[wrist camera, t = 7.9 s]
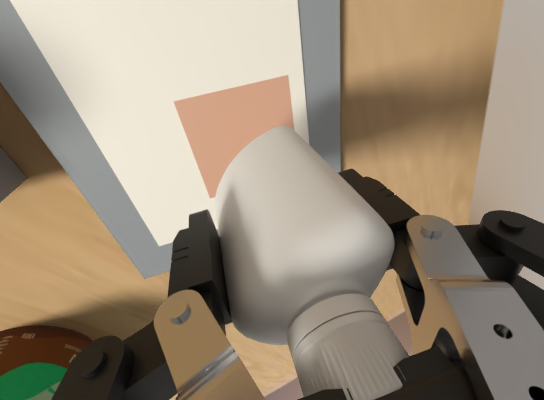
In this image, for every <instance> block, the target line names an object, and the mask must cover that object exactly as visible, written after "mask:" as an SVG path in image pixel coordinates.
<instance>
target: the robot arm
mask: <svg viewBox="0 0 544 400" xmlns="http://www.w3.org/2000/svg"><path fill="white" fill-rule="evenodd" d="M338 174H339V175H340V176H341V177H342V178H343V179H344V180H345V181H346V182H347V183H348V184H349V185H350V186H351V187H352V188H353V189H354V190H355V191H356V192H357V193H358V194H359V195H360V196H361V197H362V198H363V199H364V200H365V201H366V202H367V203H368V204H369V205H370V206H371V207H372V208H373V209H374V210H375V211H376V212H377V213H378V214H379V215H380V216H381V217H382V218H383V220H384V221H385V222H386V223H387V225H388V226H389V227H390V228H391V230H392V233H393V236H394V241H395V247H394V251H393V254H392V258H391V261H390V263H389V266H388V268H387V270H390V269H394V270H395V271H396V273H397V277H396V282H397V285H398V289H399V292H400V295H401V299H402V302H403V305H404V309H405V312H406V315H407V319H408V322H409V325H410V329H411V334H412V349H413V355H412V356H409V357H407V358H404V359H402V360H401V361H400V362H398V363H397V364H396V365H395V366H394V367H393V369H394V371H395V373H396V374H397V376H398V378H399V379H400V381H401V383H402V385H403V386H402V387H401V389H399V390H397V391H394V392H392V393H389V394H387V395H384V396H382V397H379V398H377V399H374V400H544V290H542V289H541V288H539V287H537V286H536V285H534V284H532V283H531V282H529V281H527V280H526V279H524V278H522V277H521V276H519V275H518V274H519V273H520V271H521V270H522V268H523V266H525V267H527V268H529V269H531V270H532V271H534V272H536V273H538V274H540V275H541V276H543V277H544V224H543V223H541V222H538V221H536V220H534V219H531V218H529V217H527V216H524V215H522V214H518V213H515V212H511V211H502V210H498V211H491V212H488V213H486V214H485V215H484V216H483V218H482V220H481V222H480V225H460V226H454V225H453V224H452V223H450V222H449V221H447V220H445V219H443V218H440V217H437V216H432V215H420V214H419V213H417V212H416V211H415V210H414V209H413V208H411V207H410V206H409V205H408V204H406V203H405V202H404V201H403V200H401V199H400V198H399V197H398V196H396V195H394V193H393V192H392V191H390V190H389V189H387V187H385V186H384V185H383V184H382V183H380V182H379V181H377V180H375V179H372V178H370V177H362V176H361V175H360V174H359V173H357V172H356V171H355V170H354V169H349V170H345V171H342V172H338ZM171 261H172V262H171V268H170V279H169V290H168V298H167V299H166V300H165V301H164V302H163V303H162V304H161V305H160V307H159V308H158V310H157V312H156V314H155V317H154V321H152V322H151V323H150V324H149V325H147V326H146V327H144V328H143V329H141V330H140V331H138V332H136V333H135V334H133V335H132V336H130V337H129V338H127V339H125V340H124V341H122V340H121V339H120V338H118V337H116V336H105V337H102V338H99V339H97V340H95V341H93V342H92V343H90V344H89V345H88V346H86V347H85V348H84V349H83V350H82V351H81V352H80V353H79V354H78V355H77V356H76V357H75V358H74V360H73V361H72V362H71V364H70V366H69V367H68V369H67V371H66V373H65V375H64V377H63V378H62V380H61V382H60V384H59V386H58V388H57V390H56V392H55V393H54V395H53V397H52V399H51V400H169V399H170V398H172V397H173V396H174V395H176V394H177V393H178V396H177V397H176V400H265V398H264V397H263V395H262V394H261V392H260V390H259V389H258V387H257V385H256V384H255V382H254V380H253V379H252V377H251V376H250V374H249V372H248V371H247V369H246V367H245V366H244V364H243V362H242V361H241V359H240V358H239V356H238V354H237V353H236V351H235V350H234V349H233V347H232V346H231V344H230V342H229V341H228V339H227V337H226V332H225V325H226V324H228V323H231V322H233V321H232V318H231V314H230V308H229V302H228V296H227V289H226V283H225V276H224V268H223V261H222V253H221V246H220V238H219V235H218V232H217V230H216V227H215V225H214V222H213V220H212V217H211V215H210V212H209V210H208V209H207V210H203V211H200V212H196V213H193V214H189V228H186V229H183V230H179V232H178V233H177V235H176V237H175V239H174V240H173V247H172V258H171ZM387 270H386V271H387ZM397 366H398V367H397ZM399 369H400V370H399ZM400 371H401V372H400ZM402 374H403V375H402ZM403 376H404V377H403ZM405 379H406V380H405ZM346 389H347V391H348V393H349V396H350V398H351V400H353V398H352V396H351V394H350V391H349V389H348V388H346ZM298 400H347V398H346V396H345V393H344V391H343V389H325V390H321V391H319V392H316V393H314V394H311V395H308V396H306V397H303V398H301V399H298Z"/></svg>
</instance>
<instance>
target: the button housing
mask: <svg viewBox="0 0 544 400" xmlns="http://www.w3.org/2000/svg"><path fill="white" fill-rule="evenodd" d="M26 179H27V177H26V176H25V175H24V174H23V173H22V171H21V170H20V169H19V168H18V167H17V166H16V164H15V163H14V162H13V161H12V160H11V159H10V157H9V156H8V155H7V154H6V153H5V151H4V150H3V149H2V148H1V147H0V202H1V201H2V200H3V199H5V198H6V197H7V196H8V195H9V194H10V193H11V192H12V191H14V190H15V189H16V188H17V187H18V186H19V185H20V184H21V183H23V182H24V181H25V180H26Z"/></svg>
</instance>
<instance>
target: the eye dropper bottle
mask: <svg viewBox="0 0 544 400" xmlns="http://www.w3.org/2000/svg"><path fill="white" fill-rule="evenodd" d="M215 206H216V214H217V222H218V230H219V238H220V246H221V253H222V261H223V268H224V276H225V283H226V289H227V296H228V302H229V308H230V314H231V318H232V321H233V324H234V326H235V328H236V329H237V330H238V331H239V332H240V333H242V334H243V335H244V336H246V337H248V338H250V339H253V340H255V341H258V342H261V343H266V344H272V345H289V349H290V352H291V355H292V359H293V362H294V365H295V369H296V372H297V375H298V379H299V382H300V385H301V388H302V391H303V395H304V397H306V396H308V395H311V394H314V393H316V392H319V391H321V390H325V389H343V391H344V393H345V396H346V398H347V400H351V398H350V396H349V393H348V391H347V389H346V388H348V389H349V391H350V394H351V396H352V398H353V400H374V399H377V398H379V397H382V396H384V395H387V394H389V393H392V392H394V391H397V390H399V389H401V387H402V386H403V385H402V383H401V381H400V379H399V378H398V376H397V374H396V373H395V371H394V369H393V367H394V366H395V365H396V364H397V363H398V362H400V361H401V360H402V359H404V358H407V357H409V355H408V353H407V352H406V350H405V349H404V348H403V346H402V345H401V343H400V341H399V340H398V339H397V337H396V336H395V334H394V332H393V331H392V330H391V328H390V326H389V325H388V323H387V322H386V320H385V319H384V317H383V316H382V314H381V313H380V311H379V310H378V308H377V307H376V305H375V304H374V302H373V301H372V299H370V297H371V295H372V294H373V292H374V291H375V289H376V288H377V286H378V284H379V282H380V281H381V279H382V277H383V276H384V274H385V272H386V270H387V268H388V266H389V263H390V261H391V258H392V254H393V251H394V247H395V241H394V236H393V233H392V230H391V228H390V227H389V226H388V225H387V223H386V222H385V221H384V220H383V218H382V217H381V216H380V215H379V214H378V213H377V212H376V211H375V210H374V209H373V208H372V207H371V206H370V205H369V204H368V203H367V202H366V201H365V200H364V199H363V198H362V197H361V196H360V195H359V194H358V193H357V192H356V191H355V190H354V189H353V188H352V187H351V186H350V185H349V184H348V183H347V182H346V181H345V180H344V179H343V178H342V177H341V176H340V175H339V174H338V173H337V172H336V171H335V170H334V169H333V168H332V167H331V166H330V165H329V164H328V163H327V162H326V161H325V160H324V159H323V158H322V157H321V156H320V155H319V154H318V153H317V152H316V151H315V150H314V149H313V148H312V147H311V146H310V145H309V144H308V143H307V142H306V141H305V140H304V139H303V138H302V137H301V136H300V135H299V134H298V133H296V132H295V131H294V130H293V129H292V128H290V127H288V126H277V127H275V128H273V129H270V130H269V131H267V132H265V133H263V134H262V135H260V136H258V137H257V138H256V139H254V140H253V141H252V142H250V143H249V144H248V145H247V146H245V147H244V148H243V149H242V150H241V151H240V152H239V153H238V154H237V155H236V157H235V158H234V159H233V160H232V162H231V163H230V164H229V166H228V167H227V169H226V171H225V173H224V174H223V176H222V178H221V181H220V183H219V186H218V188H217V191H216V196H215ZM397 367H398V366H397ZM399 370H400V369H399ZM400 372H401V371H400ZM402 375H403V374H402ZM403 377H404V376H403ZM405 380H406V379H405Z"/></svg>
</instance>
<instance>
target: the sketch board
mask: <svg viewBox="0 0 544 400" xmlns="http://www.w3.org/2000/svg"><path fill="white" fill-rule="evenodd" d="M0 83H1V84H2V85H3V87H4V88H5V90H6V91H7V92H8V94H9V95H10V96H11V98H12V99H13V100H14V102H15V103H16V105H17V106H18V107H19V109H20V110H21V111H22V113H23V114H24V115H25V117H26V118H27V120H28V121H29V122H30V124H31V125H32V126H33V128H34V129H35V130H36V132H37V133H38V135H39V136H40V137H41V139H42V140H43V141H44V143H45V144H46V145H47V147H48V148H49V150H50V151H51V152H52V154H53V155H54V156H55V158H56V159H57V160H58V162H59V163H60V164H61V166H62V167H63V169H64V170H65V171H66V173H67V174H68V175H69V177H70V178H71V179H72V181H73V182H74V184H75V185H76V186H77V188H78V189H79V190H80V192H81V193H82V194H83V196H84V197H85V199H86V200H87V201H88V203H89V204H90V205H91V207H92V208H93V209H94V211H95V212H96V214H97V215H98V216H99V218H100V219H101V220H102V222H103V223H104V224H105V226H106V227H107V229H108V230H109V231H110V233H111V234H112V235H113V237H114V238H115V239H116V241H117V242H118V244H119V245H120V246H121V248H122V249H123V250H124V252H125V253H126V254H127V256H128V257H129V259H130V260H131V261H132V263H133V264H134V265H135V267H136V268H137V269H138V271H139V272H140V274H141V275H142V276H143V278H144V279H145V278H149V277H152V276H155V275H159V274H162V273H165V272H168V271H170V268H171V262H172V261H171V258H172V247H173V240H174V239H175V237H176V235H177V233H178V232H179V230H183V229H186V228H189V214H193V213H196V212H200V211H203V210H207V209H208V210H209V212H210V215H211V217H212V220H213V222H214V225H215V227H216V230H217V232H218V235H219V230H218V222H217V214H216V206H215V196H216V191H217V188H218V186H219V183H220V181H221V178H222V176H223V174H224V173H225V171H226V169H227V167H228V166H229V164H230V163H231V162H232V160H233V159H234V158H235V157H236V155H237V154H238V153H239V152H240V151H241V150H242V149H243V148H244V147H245V146H247V145H248V144H249V143H250V142H252V141H253V140H254V139H256V138H257V137H258V136H260V135H262V134H263V133H265V132H267V131H269V130H270V129H273V128H275V127H277V126H288V127H290V128H292V129H293V130H294V131H295V132H296V133H298V134H299V135H300V136H301V137H302V138H303V139H304V140H305V141H306V142H307V143H308V144H309V145H310V146H311V147H312V148H313V149H314V150H315V151H316V152H317V153H318V154H319V155H320V156H321V157H322V158H323V159H324V160H325V161H326V162H327V163H328V164H329V165H330V166H331V167H332V168H333V169H334V170H335V171H336V172H337V173H338V172H341V139H340V0H0Z"/></svg>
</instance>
